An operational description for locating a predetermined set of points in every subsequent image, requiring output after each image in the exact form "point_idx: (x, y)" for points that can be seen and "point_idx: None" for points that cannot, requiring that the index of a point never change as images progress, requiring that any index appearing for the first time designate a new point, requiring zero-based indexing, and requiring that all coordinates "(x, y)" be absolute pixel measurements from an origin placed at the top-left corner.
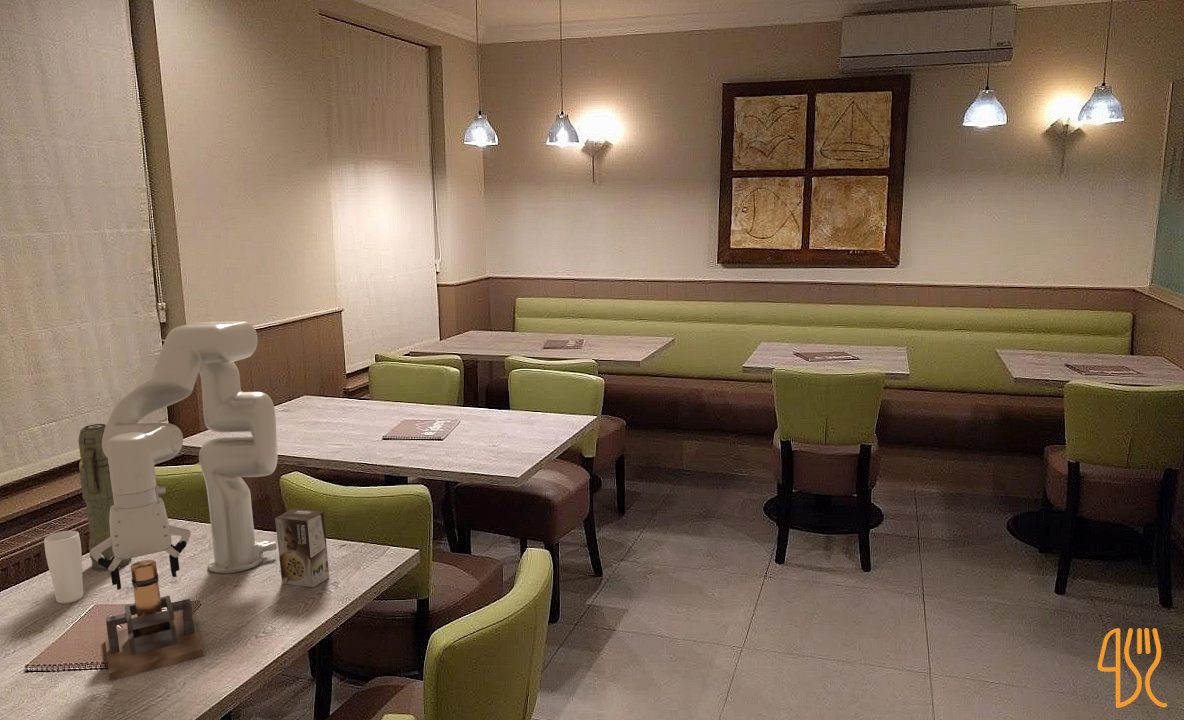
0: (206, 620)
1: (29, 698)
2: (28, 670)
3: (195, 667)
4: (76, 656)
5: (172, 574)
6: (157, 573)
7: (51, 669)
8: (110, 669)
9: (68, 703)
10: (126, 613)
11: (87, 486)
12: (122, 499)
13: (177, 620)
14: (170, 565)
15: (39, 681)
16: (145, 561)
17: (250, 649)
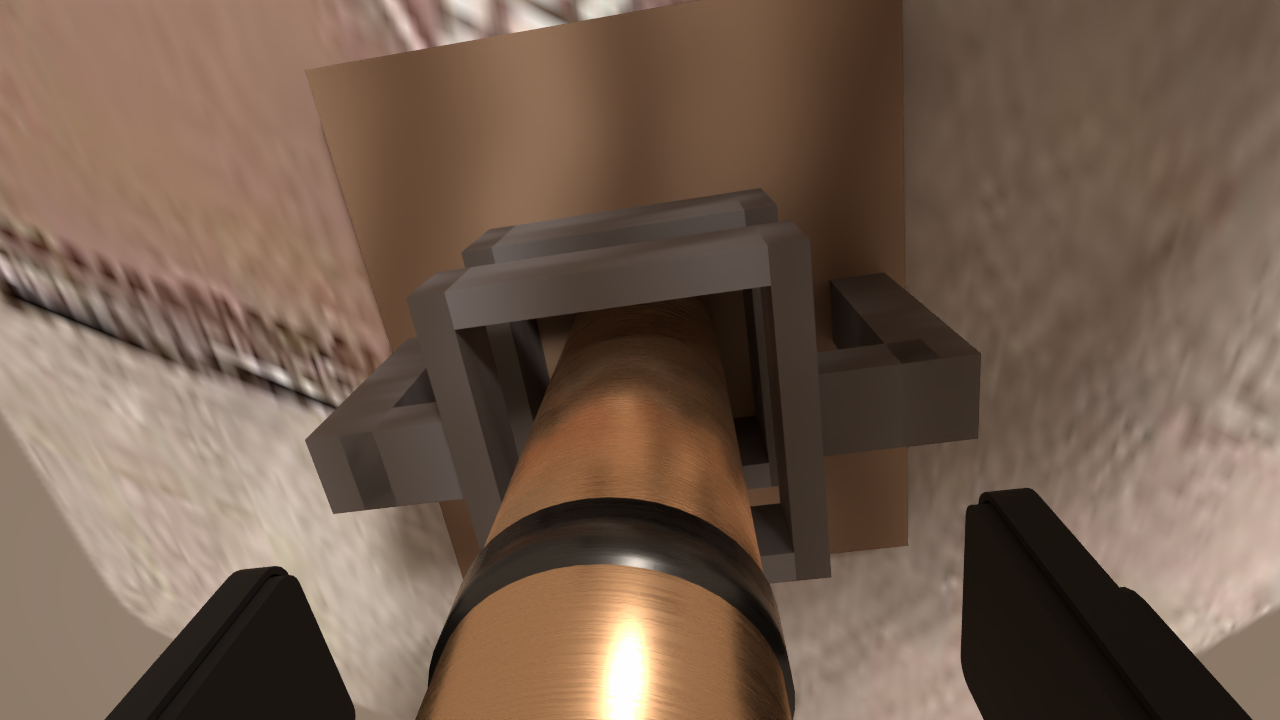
0: (976, 32)
1: (169, 569)
2: (14, 290)
3: (845, 603)
4: (219, 227)
5: (980, 706)
6: (788, 695)
7: (142, 333)
8: (468, 563)
9: (355, 665)
10: (463, 476)
11: None
12: None
13: (792, 64)
14: (1028, 637)
15: (140, 437)
16: None
17: (1116, 547)
